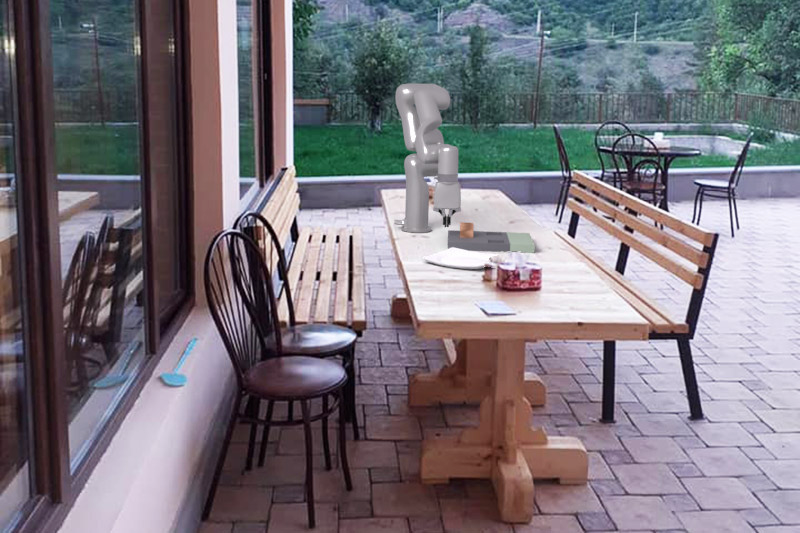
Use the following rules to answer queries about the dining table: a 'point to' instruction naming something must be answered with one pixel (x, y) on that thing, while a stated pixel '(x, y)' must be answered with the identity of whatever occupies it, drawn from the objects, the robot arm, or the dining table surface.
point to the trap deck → (492, 241)
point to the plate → (459, 258)
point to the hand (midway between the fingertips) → (446, 226)
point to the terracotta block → (466, 230)
